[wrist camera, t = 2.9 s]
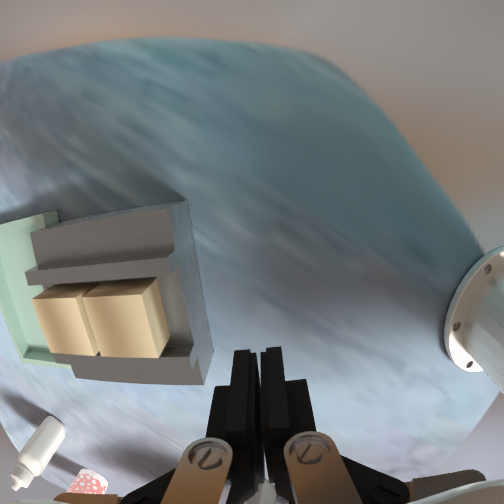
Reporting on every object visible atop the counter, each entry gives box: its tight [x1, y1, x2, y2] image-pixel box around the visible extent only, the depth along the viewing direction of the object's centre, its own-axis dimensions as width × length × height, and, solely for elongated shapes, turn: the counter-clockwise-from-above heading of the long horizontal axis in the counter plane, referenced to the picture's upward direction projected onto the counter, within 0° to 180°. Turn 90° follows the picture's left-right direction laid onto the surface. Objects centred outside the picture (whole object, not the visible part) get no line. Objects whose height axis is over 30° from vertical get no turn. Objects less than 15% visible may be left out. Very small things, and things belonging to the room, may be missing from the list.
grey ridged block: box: [25, 200, 214, 385], centre depth 20 cm, size 11×12×6 cm
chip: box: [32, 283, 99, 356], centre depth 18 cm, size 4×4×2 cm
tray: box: [0, 210, 72, 369], centre depth 23 cm, size 10×14×2 cm
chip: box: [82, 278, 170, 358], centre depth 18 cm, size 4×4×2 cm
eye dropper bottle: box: [11, 416, 66, 490], centre depth 24 cm, size 4×6×12 cm
